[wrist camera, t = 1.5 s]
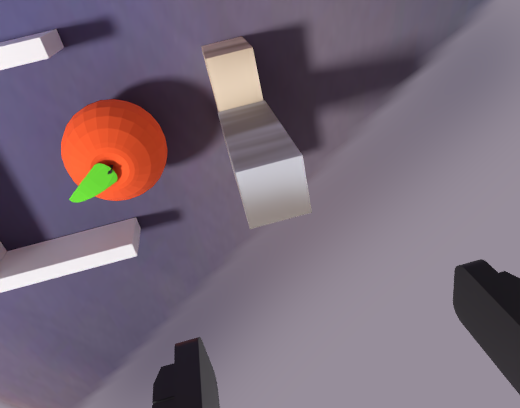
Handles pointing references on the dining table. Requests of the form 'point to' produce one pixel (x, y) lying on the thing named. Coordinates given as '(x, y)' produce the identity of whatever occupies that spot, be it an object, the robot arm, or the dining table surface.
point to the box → (71, 246)
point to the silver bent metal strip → (255, 137)
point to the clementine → (113, 151)
